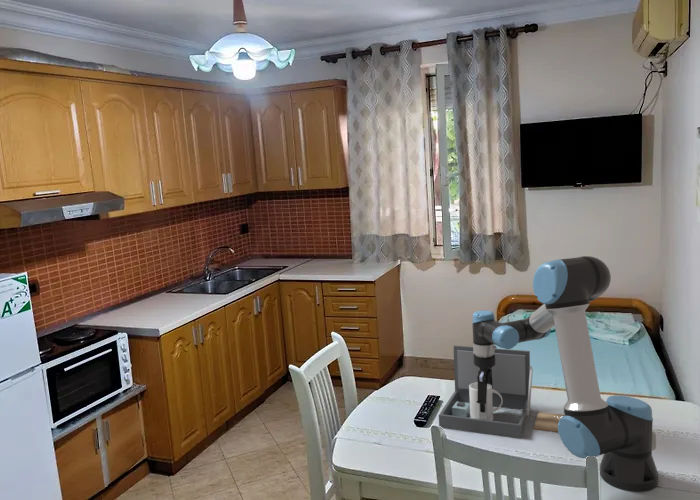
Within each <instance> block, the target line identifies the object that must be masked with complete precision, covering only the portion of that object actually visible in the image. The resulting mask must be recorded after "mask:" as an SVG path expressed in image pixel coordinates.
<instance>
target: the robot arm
mask: <svg viewBox="0 0 700 500" xmlns="http://www.w3.org/2000/svg"><path fill="white" fill-rule="evenodd" d="M611 281H612V277H611V272H610V270H609V267H608V265H607V264H606V263H605V262H603V261H602V260H601V259H599V258H598V257H595V256H591V255H590V256H589V255H588V256H587V255H585V256H577V257H572V258H571V257H570V258H562V259H554V260H550V261H546V262H543V263H542V264H540V265H539V266H538V267H537V269H536V271H535V272H534V275H533V278H532V288H533V293H534V296H535V297H536V298H537V301H538V302H540V303H542V304H541V306H539V307H538V308H537V309H536V310H535V311H534V312H532V314H530V315H529V316H527V317H526V318H522V319H517V320H512V321H507V322H500V321H497V320H495V314H494V312H493V311H491V310H477V311H475V312H473V314H472V322H471V324H472V344H473V345H472V347H473V353H474V365H475V366H477V367H479V368H480V371H478V376H477V379H478V401H476V402H477V403H479V419H483V420H487V402H486V396H487V384H491V385H492V389H493V382H492V367H493V366H494V365H495V355H494V354H495V349H496V348H497V349H498V347H499V348H500V349H510V350H512V349H513V348H515V346H517V344H519V343H523V342H524V343H525V342H530V341H536V340H537V341H538V340H542V339H545V338H547V337H549V335H550V332H551V331H552V329H553V328H554V330H555V335H556V341H557V346H558V353H559V357H560V364H561V369H562V375H563V381H564V385H565V386H564V387H565V393H566V397H567V401H566V403H565V404H564V405H563V412H564V413H563V415H565V416H563V417H562V418H561V419H560V420H559V423H558V432H559V433H558V432H557V433H558V435H559V436H558V437H559V438H560V440H561V443H562V444H563V445H564V447H565V448H566V449H567V450H568V451H569V452H570V454H572V455H573V456H575V457H577V458H578V459H587V458H586V457H587V456H595V457H594V458H597V457H599V456H602V455H603V457H602V459H601V460H600V461H601V462H600V465H599V476H600V477H601V479H603V481H604V482H606V483H607V484H609V485H611V486H612V487H615V488H618V489H621V490H625V491H631V492H646V491H650V490H654V489H656V487H657V486H658V485H659V472H658V469H657V467H656V464H655V460H654V457H653V455H652V454H653V452H652V451H653V449H652V448H653V420H654V418H653V409H652V406H651V405H649V403H647V402H645V401H643V400H641V399H639V398H636V397H631V396H626V395H618V394H617V395H610V396H607V398H606V400H604V399H603V398H602V396H601V392H600V386H599V381H598V374H597V369H596V364H595V358H594V353H593V349H592V342H591V337H590V331H589V325H588V320H587V316H586V310H587V309H588V308H589V306H590V302H594V301H595V300H597V299H598V298H599V297H601V295H603V294H604V293H605V292H606V291H607V290H608V289H609V286H610V284H611Z"/></svg>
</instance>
